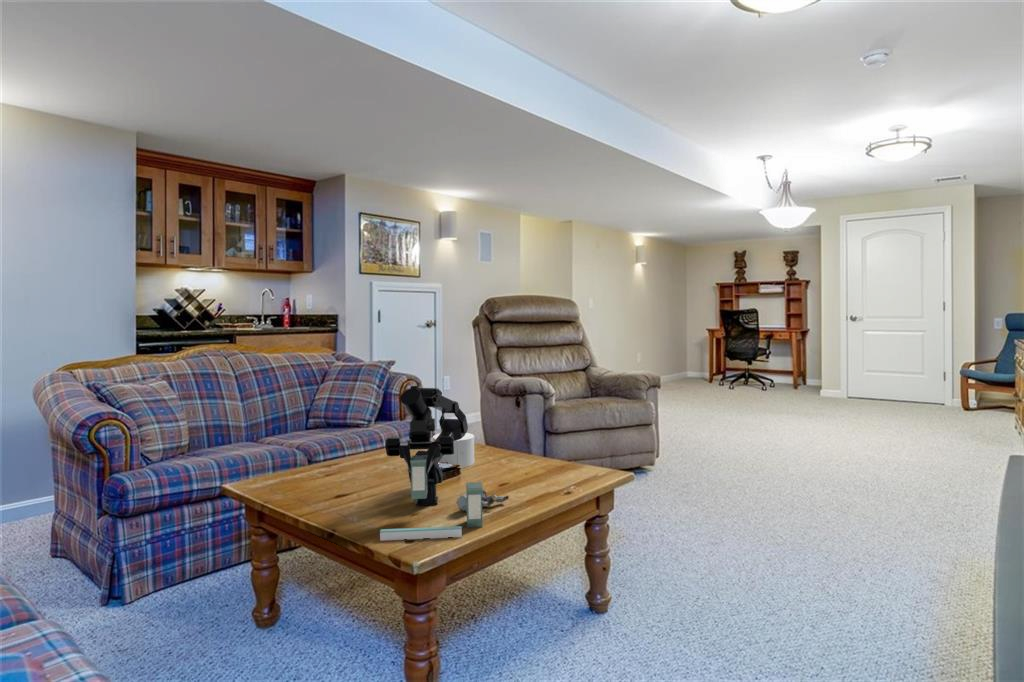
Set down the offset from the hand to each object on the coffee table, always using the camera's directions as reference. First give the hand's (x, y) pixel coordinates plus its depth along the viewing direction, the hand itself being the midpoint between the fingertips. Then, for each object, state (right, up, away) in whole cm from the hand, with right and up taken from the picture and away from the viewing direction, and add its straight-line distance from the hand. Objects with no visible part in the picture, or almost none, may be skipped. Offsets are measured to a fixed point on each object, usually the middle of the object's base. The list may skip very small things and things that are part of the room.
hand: (418, 473), depth 156 cm
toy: (+16, -13, +11) cm, 23 cm away
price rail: (+3, -13, -12) cm, 18 cm away
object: (+3, -11, +62) cm, 63 cm away
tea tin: (0, -7, +2) cm, 7 cm away
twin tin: (+15, -13, -2) cm, 20 cm away
